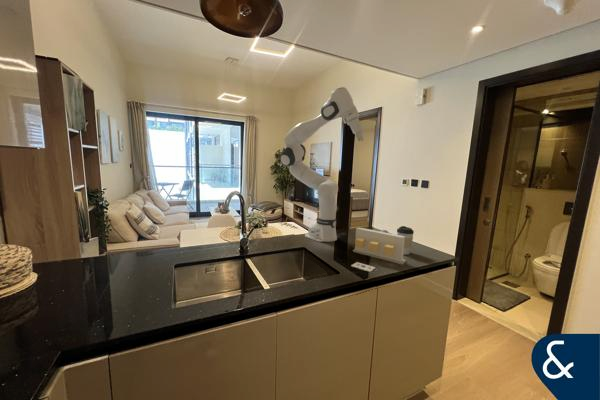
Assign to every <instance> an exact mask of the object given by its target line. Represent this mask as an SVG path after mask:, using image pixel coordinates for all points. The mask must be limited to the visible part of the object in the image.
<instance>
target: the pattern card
mask: <svg viewBox="0 0 600 400" xmlns="http://www.w3.org/2000/svg"><path fill="white" fill-rule="evenodd" d="M350 267H352V268H356V269H357V270H358V269H359V270H361V271H365V272H368V273H371V272H372V271H374V270H375V269H376V267H375V266H372V265H369V264H365V263H361V262H358V261H356V262H355V263H353V264H351V265H350ZM373 269H374V270H373Z"/></svg>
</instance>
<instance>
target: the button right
mask: <svg viewBox="0 0 600 400" xmlns="http://www.w3.org/2000/svg"><path fill="white" fill-rule="evenodd" d="M394 249H395V246H393V245H392V246H391V245H385V246H384V254H387V255H391V256H392V255H393V254H394Z"/></svg>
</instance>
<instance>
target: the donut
mask: <svg viewBox="0 0 600 400" xmlns="http://www.w3.org/2000/svg"><path fill="white" fill-rule="evenodd" d="M379 232H384V233H390V232H389V231H388V230H386V229H381V230H379ZM378 243H379V245H380V242H378Z"/></svg>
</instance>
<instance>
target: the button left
mask: <svg viewBox="0 0 600 400" xmlns="http://www.w3.org/2000/svg"><path fill="white" fill-rule="evenodd" d="M355 240H356V241H355V243H354V248H355V247H359V248H363V247H365V242H366V239H360V238H358V239H356V238H355Z"/></svg>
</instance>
